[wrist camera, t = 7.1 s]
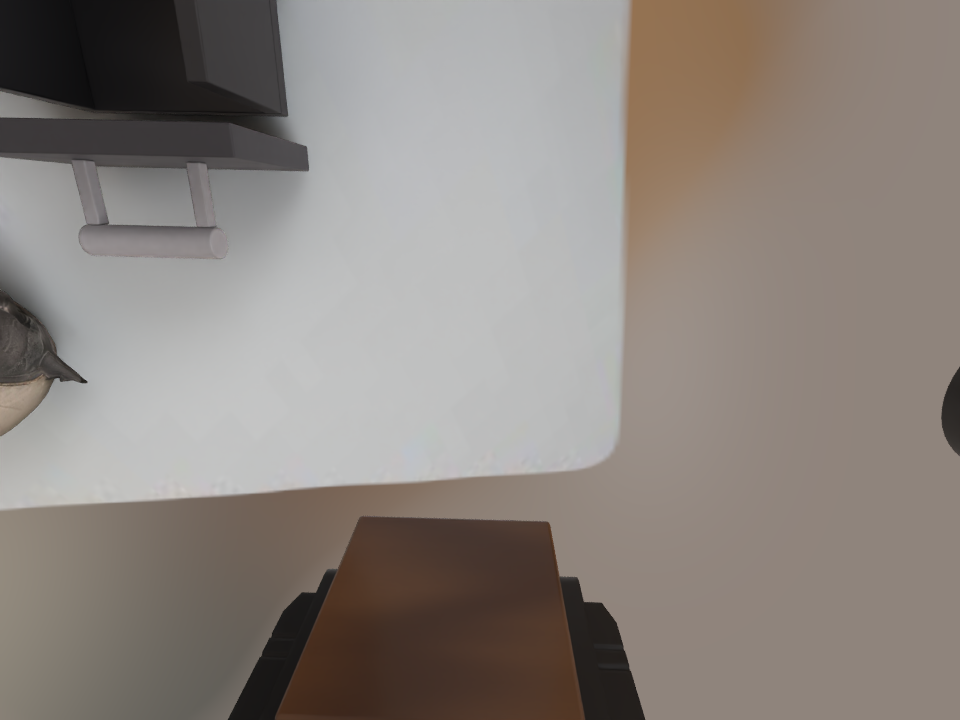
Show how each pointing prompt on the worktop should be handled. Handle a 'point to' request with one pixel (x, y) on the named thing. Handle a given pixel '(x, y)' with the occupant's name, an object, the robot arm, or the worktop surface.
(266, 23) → the drawer
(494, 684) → the block
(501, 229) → the worktop surface
